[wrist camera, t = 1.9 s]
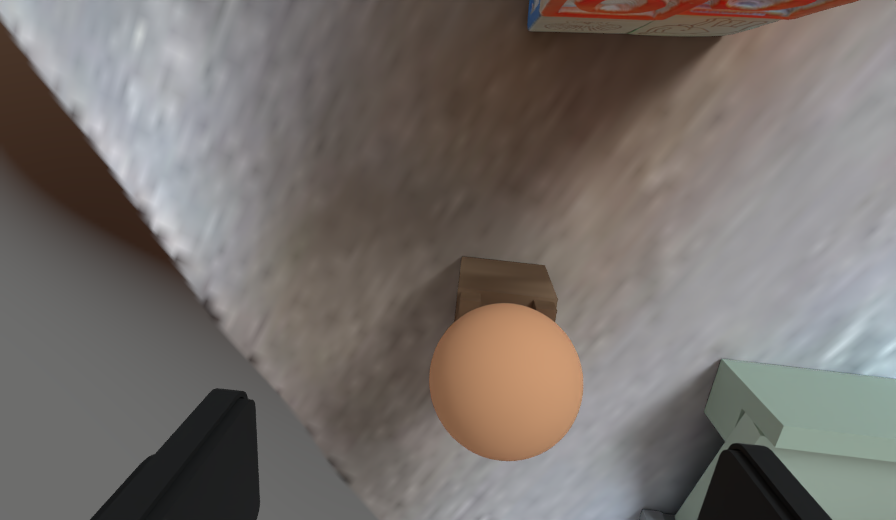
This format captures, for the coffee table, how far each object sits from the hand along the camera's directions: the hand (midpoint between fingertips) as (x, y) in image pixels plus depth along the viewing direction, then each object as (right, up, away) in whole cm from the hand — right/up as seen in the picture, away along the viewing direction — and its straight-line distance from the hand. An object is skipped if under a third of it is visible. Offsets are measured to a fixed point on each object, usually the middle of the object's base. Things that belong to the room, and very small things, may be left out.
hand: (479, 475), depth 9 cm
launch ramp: (+14, -4, +9) cm, 17 cm away
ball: (+1, +1, +3) cm, 3 cm away
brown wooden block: (+1, +3, +8) cm, 9 cm away
